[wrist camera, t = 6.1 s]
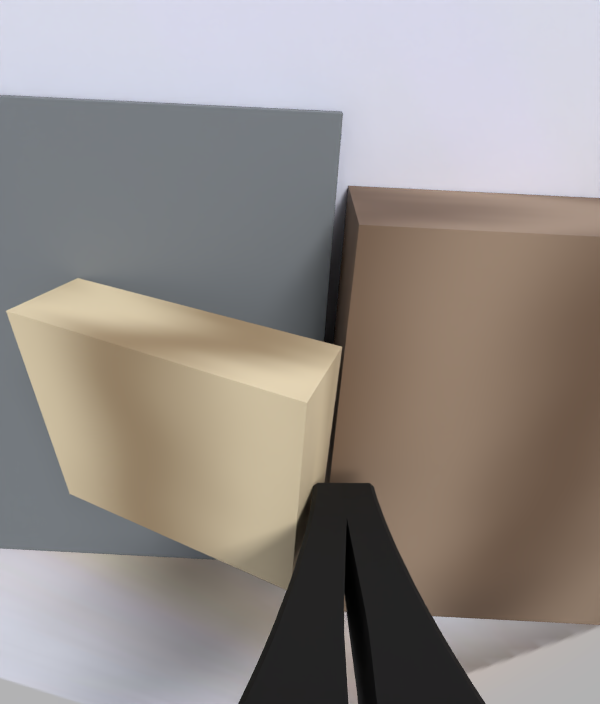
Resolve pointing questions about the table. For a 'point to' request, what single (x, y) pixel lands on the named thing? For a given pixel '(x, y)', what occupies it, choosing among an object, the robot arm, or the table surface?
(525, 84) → the table surface
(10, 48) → the table surface
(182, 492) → the birch tile
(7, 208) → the charcoal mat
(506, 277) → the block
